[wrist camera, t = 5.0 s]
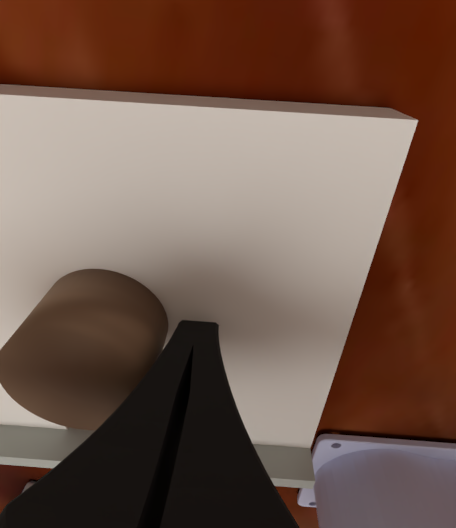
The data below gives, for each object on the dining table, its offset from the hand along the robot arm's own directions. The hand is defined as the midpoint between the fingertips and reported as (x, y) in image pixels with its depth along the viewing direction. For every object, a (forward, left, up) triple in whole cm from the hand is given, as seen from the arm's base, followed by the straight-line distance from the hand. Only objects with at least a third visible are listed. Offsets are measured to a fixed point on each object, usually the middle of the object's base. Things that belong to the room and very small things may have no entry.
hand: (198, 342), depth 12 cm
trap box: (+6, 0, -3) cm, 6 cm away
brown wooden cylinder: (+3, 0, -1) cm, 4 cm away
